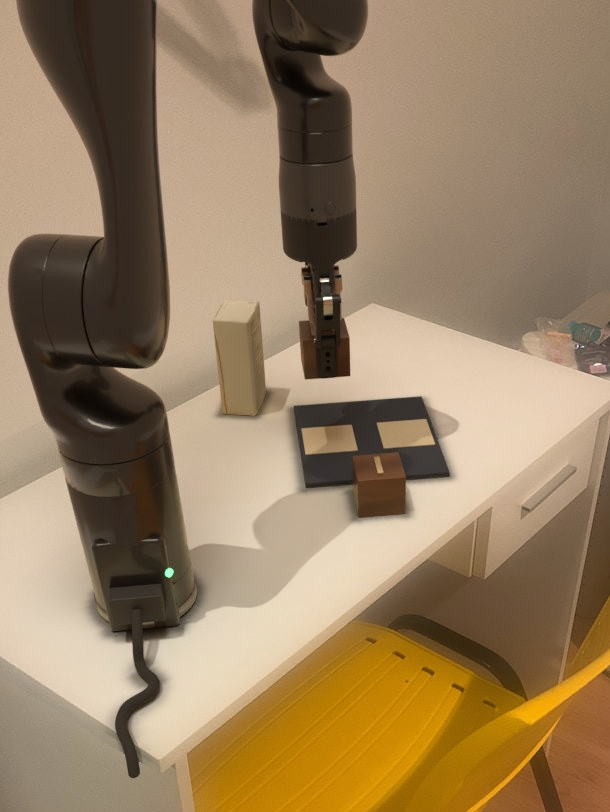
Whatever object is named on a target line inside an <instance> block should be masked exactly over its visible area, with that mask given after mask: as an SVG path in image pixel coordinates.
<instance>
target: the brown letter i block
mask: <svg viewBox="0 0 610 812" xmlns="http://www.w3.org/2000/svg"><path fill="white" fill-rule="evenodd" d="M352 479H353V484H352V496H353V499H354V504H355V509H356V513H357V517H358V518H366V517H379V516H380V517H381V516H392V515H402V514H404V515H405V514H406V504H407V503H406V501H407V499H406V497H407V495H406V494H407V493H406V492H407V480H406V476H405V472H404V469H403V466H402V462H401V459H400V456H399V453H398V452H397V453H384V454H371V455H359V456H352Z"/></svg>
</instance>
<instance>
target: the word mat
mask: <svg viewBox="0 0 610 812" xmlns="http://www.w3.org/2000/svg"><path fill="white" fill-rule="evenodd" d="M293 413H294V420H295V427H296V432H297V440H298V447H299V453H300V459H301V466H302V472H303V478H304V485H305V488H306V489H310V488H320V487H321V488H322V487H335V486H348V485H353V479H352V456H359V455H371V454H384V453H397V452H398V453H399V456H400V459H401V462H402V466H403V469H404V472H405V476H406V481H409V480H421V479H433V478H445V477H450V470H449V469H450V468H449V466H448V463H447V462H446V459H445V456H444V453H443V451H442V447H441V444H440V442H439V440H438V437H437V434H436V431H435V429H434V425H433V423H432V420H431V418H430V415H429V413H428V410H427V407H426V404H425V403H424V400H423V397H422V396H407V397H395V398H382V399H381V398H378V399H367V400H354V401H353V400H351V401H340V402H338V401H337V402H327V403H314V404H313V403H312V404H300V405H299V404H298V405H293Z"/></svg>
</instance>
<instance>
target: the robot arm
mask: <svg viewBox="0 0 610 812" xmlns="http://www.w3.org/2000/svg"><path fill="white" fill-rule="evenodd" d="M15 2H16V10H17V15H18V21H19V24H20V27H21V29H22V32H23V36H24V37H25V40H26V42H27V44H28V46H29V48H30V50H31V53H32V55H33V57H34V58H35V60H36V62H37V64H38V66H39V67H40V69H41V71H42V73H43V75H44V77H45V78H46V80H47V82H48V83H49V86H51V88H52V90H53V92H54V93H55V95H56V97H57V99H58V100H59V102H60V103H61V105H62V107H63V109H64V110H65V112H66V113H67V115H68V116H69V118H70V120H71V122H72V123H73V126H74V129H76V132H77V133H78V135H79V137H80V140H81V141H82V143H83V147H84V149H85V150H86V152H87V155H88V157H89V161H90V163H91V166H92V170H93V173H94V175H95V181H96V185H97V190H98V195H99V201H100V207H101V216H102V226H103V227H102V228H103V236H101V235H100V236H97V235H96V236H95V235H85V234H84V235H83V234H82V235H81V234H65V233H37V234H31V235H28V236H27V237H25V238H24V239H23V240H22V241H20V242H19V244H18V245H17V246H16V248H15V250H14V251H13V254H12V256H11V259H10V263H9V266H8V274H7V275H8V276H7V293H8V304H9V311H10V315H11V320H12V325H13V329H14V332H15V335H16V339H17V343H18V346H19V348H20V353H21V354H22V358H23V361H24V364H25V366H26V370H27V373H28V376H29V379H30V382H31V385H32V388H33V392H34V395H35V398H36V401H37V405H38V407H39V410H40V413H41V417H42V419H43V421H44V422H45V424H46V425H47V427H48V429H49V430H50V431H51V433H52V434H53V436H54V440H55V443H56V447H57V451H58V456H59V460H60V463H61V468H62V471H63V475H64V480H65V484H66V487H67V491H68V496H69V499H70V503H71V507H72V511H73V515H74V519H75V523H76V526H77V531H78V534H79V538H80V542H81V547H82V551H83V555H84V559H85V562H86V567H87V570H88V574H89V577H90V580H91V584H92V585H91V586H92V588H93V592H94V601H95V605H96V609H97V611H98V614H99V615H100V616H101V617H102V619H104V620H105V621H106V622H108V623H109V627H110V631H112V632H119V631H129V630H131V641H132V643H131V644H132V659H133V665H134V667H135V670H136V672H137V674H138V676H140V677H141V678H142V679H143V680H144V681H146V682H147V684H148V685H147V686H146V687H145V689H143V690H141V691H140V692H138V693H136V694H135V695H133V696H131V697H129V698H127V700H125V701H124V702H123V703H122V704H121V705H120V707H118V710H117V713H116V716H115V719H114V729H115V733H116V735H117V737H118V739H119V742H120V744H121V747H122V749H123V753H124V758H125V763H126V769H127V775H128V777H129V778H130V779H136V778H139V776H140V774H141V767H140V761H139V757H138V752H137V748H136V745H135V742H134V740H133V738H132V735H131V733H130V731H129V728H128V718H129V715H130V713H131V712H133V710H135V709H136V708H137V707H139V706H141V705H143V704H145V703H146V702H148V701H150V700H151V699H152V698H153V697H154V696H155V695H156V694H157V693H158V691H159V689H160V684H161V683H160V679H159V677H158V675H157V674H156V673H155V672H154V671H152V670H151V669H150V668H149V667H148V666H147V664H146V661H145V652H144V631H143V629H151V628H152V629H153V628H163V627H173V626H179V624H180V619H181V617H182V616H183V615H185V614H186V613H187V612H188V611H189V610H190V609H191V608H192V606H193V605H194V603H195V602H196V599H197V594H198V588H197V582H196V578H195V576H194V572H193V565H192V558H191V553H190V549H189V548H190V547H189V542H188V535H187V529H186V524H185V518H184V513H183V505H182V501H181V500H182V499H181V494H180V489H179V488H180V487H179V483H178V475H177V470H176V465H175V457H174V451H173V445H172V439H171V438H172V437H171V433H170V424H169V418H168V413H167V408H166V405H165V403H164V401H163V399H162V398H161V397H160V395H159V394H158V393H157V392H156V391H155V390H153V389H152V388H151V387H149V386H147V385H145V384H144V383H141V382H139V381H137V380H136V379H134V378H132V377H129V376H128V375H126V374H124V373H123V372H121V371H119V370H118V369H126V370H127V369H128V370H145V369H148V368H149V369H150V368H151V367H153V366H155V365H156V364H157V363H158V361H160V358H161V357H162V356H163V354H164V351H165V349H166V345H167V341H168V338H169V330H170V321H171V285H170V273H169V271H170V270H169V260H168V249H167V248H168V247H167V237H166V236H167V235H166V227H165V226H166V225H165V216H164V215H165V214H164V204H163V194H162V182H161V170H160V169H161V168H160V155H159V137H158V135H159V133H158V132H159V131H158V98H157V97H158V96H157V59H158V58H157V49H158V48H157V43H158V39H157V37H158V36H157V35H158V33H157V32H158V0H15ZM368 2H369V1H368V0H252V1H251V14H252V15H251V17H252V25H253V31H254V34H255V38H256V43H257V46H258V51H259V54H260V56H261V60H262V64H263V68H264V71H265V75H266V78H267V82H268V86H269V88H270V92H271V95H272V97H273V100H274V104H275V107H276V124H277V140H278V155H279V162H278V163H279V164H278V165H279V167H278V194H279V196H278V197H279V209H280V210H279V211H280V225H281V238H282V250H283V252H284V254H285V255H286V257H287V258H289V259H291V260H292V261H295V262H298V263H304V266H301V267H300V276H301V284H302V286H303V297H304V304H305V306H306V307H307V317H308V320H309V321H310V322H311V323H313V324H314V336H315V338H314V343H315V346H316V358H317V374H318V377H319V378H320V379H321V380H323V379H335V378H338V377H337V375H338V356H337V347H340V343H341V338H340V320H341V319H342V318H343V311H342V298H341V297H342V296H341V293H342V291H343V277H342V273H340V266H339V264H337V263H338V262H340V261H344V260H347V259H349V258H351V257H352V256H353V255H354V254H355V253H356V251H357V249H358V224H357V221H358V220H357V219H358V217H357V179H356V169H355V162H354V153H353V109H352V108H353V106H352V99H351V95H350V93H349V91H348V89H347V88H346V86H343V84H341V83H340V82H338V81H337V80H335V79H334V78H333V77H331V76H330V75H329V74H328V72H327V71H326V69H325V66H324V64H323V60H322V57H321V56H324V57H337V56H338V57H339V56H342V55H346V54H348V53H349V52H351V51H353V49H354V48H356V47H357V46H358V44H359V43H360V42H361V39H362V38H363V36H364V34H365V31H366V28H367V25H368V24H367V23H368V19H369V18H368V17H369V3H368ZM330 329H333V333H329V334H321V332H322V331H323V330H330Z"/></svg>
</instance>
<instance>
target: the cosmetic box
mask: <svg viewBox="0 0 610 812" xmlns="http://www.w3.org/2000/svg"><path fill="white" fill-rule="evenodd" d="M212 327H213V328H212V329H213V337H214V345H215V346H214V347H215V354H216V364H217V365H216V366H217V375H218V384H219V385H218V386H219V392H220V402H221V409H222V410H221V411H222V414H225V415H236V416H237V415H239V416H250V417H251V416H252V417H255V416H256V415H257V414H258V412H259V410H260V408H261V405H262V404H263V401H264V399H265V397H266V394H267V385H266V372H265V371H266V369H265V359H264V346H263V331H262V319H261V306H260V300H251V299H250V300H249V299H233V298H225V299H224V300H223V301H222V303H221V304H220V306H219V307H218V309H217V311H216V312H215V315H214V316H213V318H212Z"/></svg>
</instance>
